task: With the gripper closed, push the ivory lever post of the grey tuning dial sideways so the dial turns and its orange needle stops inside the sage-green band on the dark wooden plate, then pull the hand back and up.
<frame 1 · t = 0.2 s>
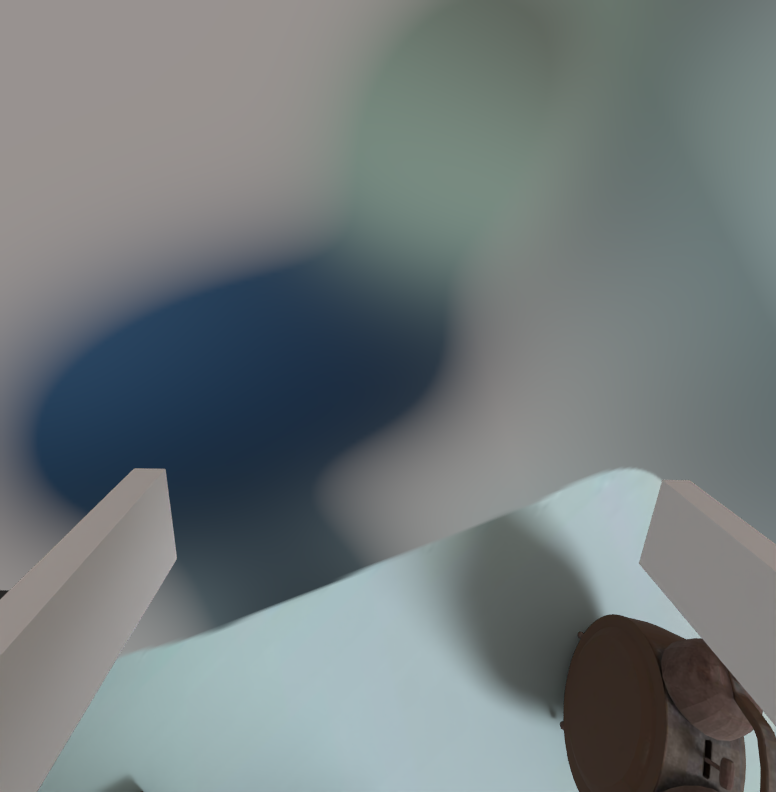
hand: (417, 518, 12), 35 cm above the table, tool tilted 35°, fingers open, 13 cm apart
alarm clock: (591, 683, 43), on the table
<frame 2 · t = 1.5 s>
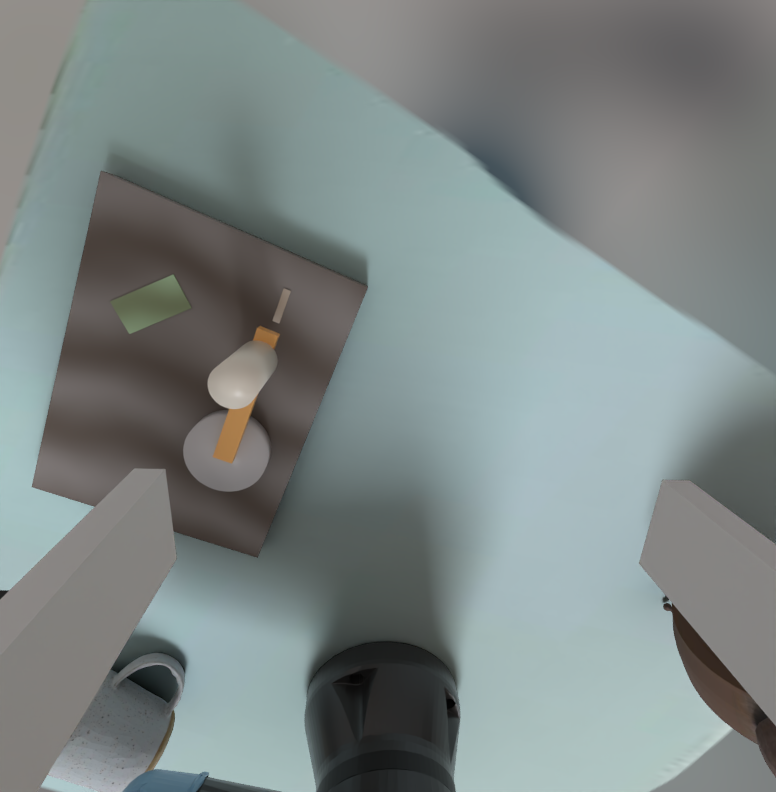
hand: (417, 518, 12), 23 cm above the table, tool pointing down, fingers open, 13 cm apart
dial: (229, 428, 29), point 6 cm above the table, hinge at 0.0°
ceramic mug: (140, 682, 43), on the table
alarm clock: (707, 574, 42), on the table
dial plate: (197, 386, 34), on the table
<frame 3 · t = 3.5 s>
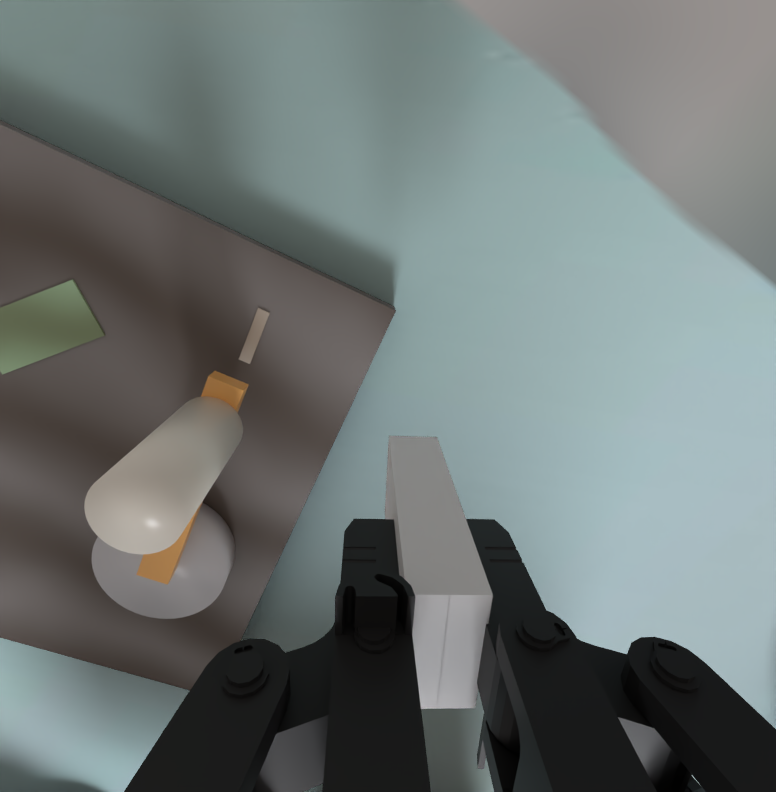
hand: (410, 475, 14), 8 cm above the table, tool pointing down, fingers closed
dial: (156, 545, 17), point 6 cm above the table, hinge at 0.0°
dial plate: (124, 452, 22), on the table
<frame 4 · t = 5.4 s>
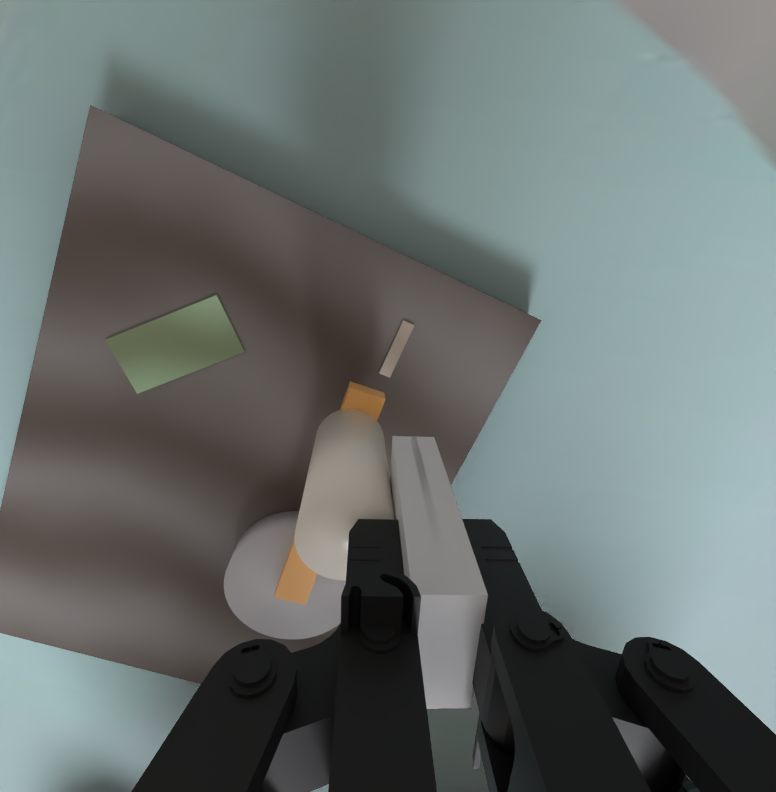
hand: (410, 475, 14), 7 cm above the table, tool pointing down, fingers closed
dial: (309, 566, 17), point 6 cm above the table, hinge at 3.9°, touching gripper
dial plate: (244, 469, 21), on the table
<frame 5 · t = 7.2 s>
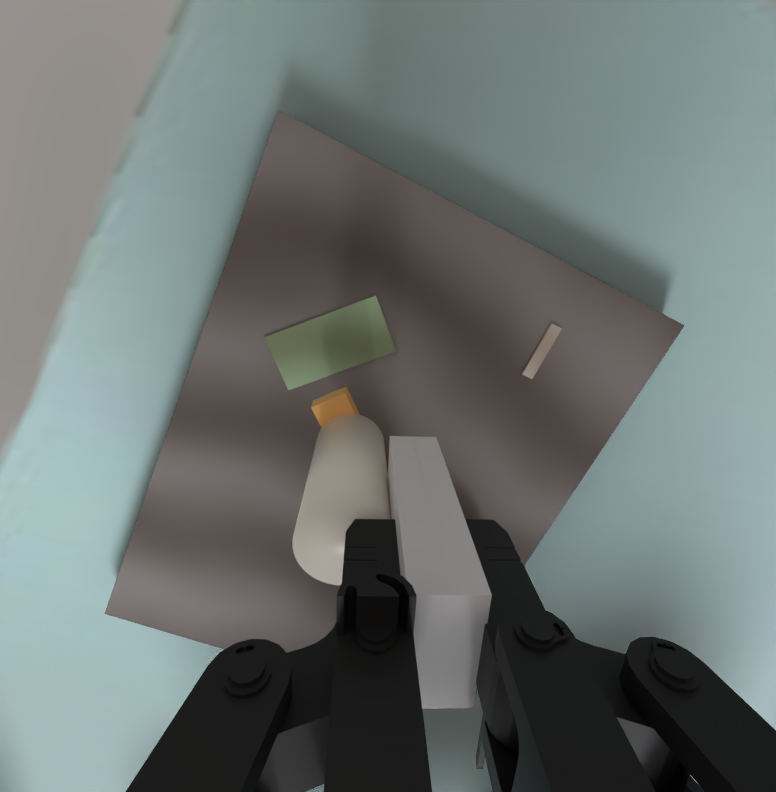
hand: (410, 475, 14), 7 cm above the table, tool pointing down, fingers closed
dial: (398, 565, 17), point 6 cm above the table, hinge at 48.1°, touching gripper
dial plate: (370, 465, 22), on the table
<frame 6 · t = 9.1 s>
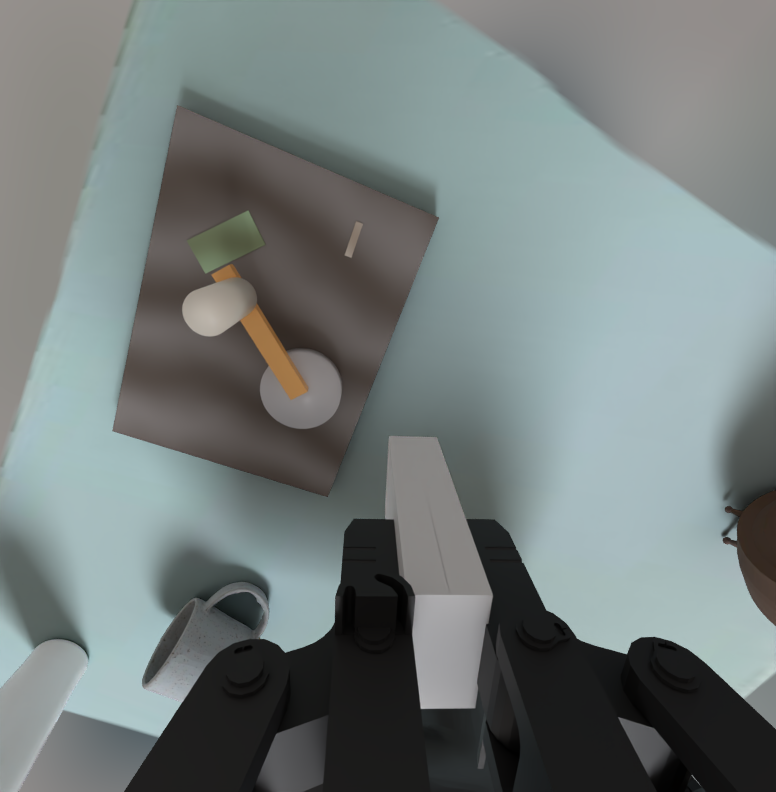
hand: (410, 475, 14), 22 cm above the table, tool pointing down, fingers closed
dial: (267, 362, 30), point 6 cm above the table, hinge at 48.2°
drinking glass: (65, 653, 46), on the table
ceramic mug: (224, 612, 45), on the table
alarm clock: (767, 507, 43), on the table
dial plate: (268, 327, 35), on the table
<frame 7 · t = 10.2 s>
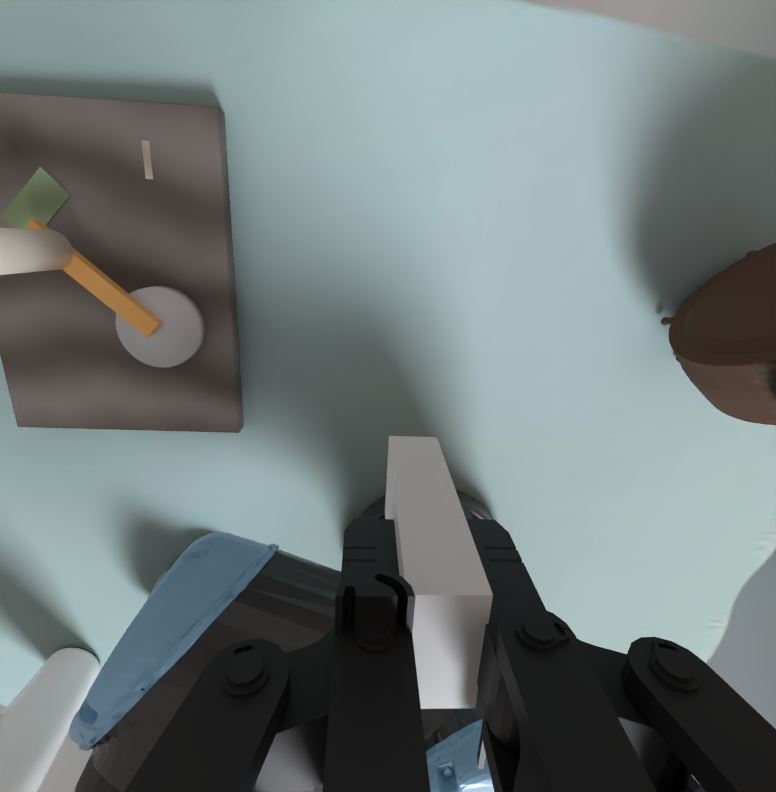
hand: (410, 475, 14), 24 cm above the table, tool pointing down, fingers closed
dial: (95, 299, 30), point 6 cm above the table, hinge at 48.2°
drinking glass: (78, 661, 48), on the table
alarm clock: (713, 307, 38), on the table
dial plate: (118, 281, 35), on the table
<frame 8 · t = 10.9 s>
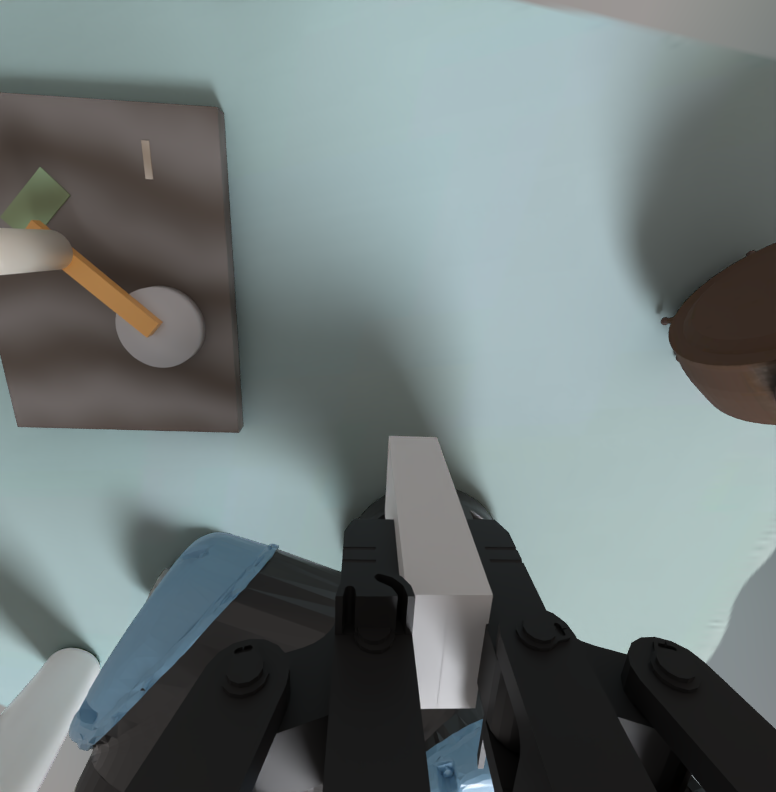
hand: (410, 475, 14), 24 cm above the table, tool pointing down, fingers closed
dial: (95, 300, 30), point 6 cm above the table, hinge at 48.2°
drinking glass: (78, 661, 48), on the table
alarm clock: (713, 307, 38), on the table
dial plate: (117, 281, 35), on the table
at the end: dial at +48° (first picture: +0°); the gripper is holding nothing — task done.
